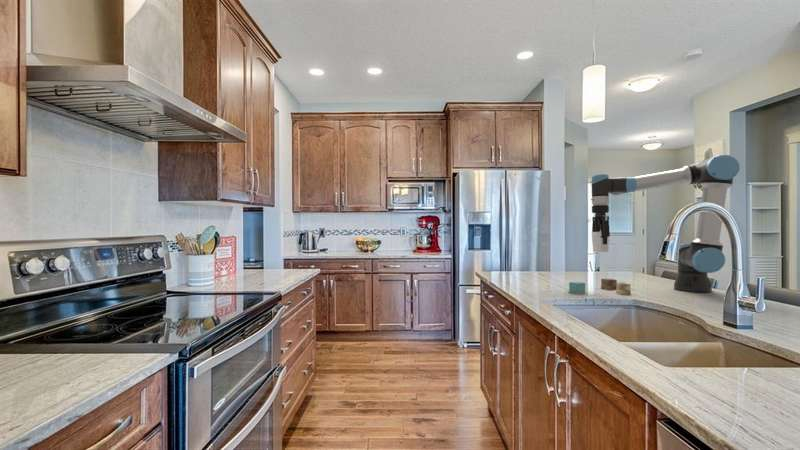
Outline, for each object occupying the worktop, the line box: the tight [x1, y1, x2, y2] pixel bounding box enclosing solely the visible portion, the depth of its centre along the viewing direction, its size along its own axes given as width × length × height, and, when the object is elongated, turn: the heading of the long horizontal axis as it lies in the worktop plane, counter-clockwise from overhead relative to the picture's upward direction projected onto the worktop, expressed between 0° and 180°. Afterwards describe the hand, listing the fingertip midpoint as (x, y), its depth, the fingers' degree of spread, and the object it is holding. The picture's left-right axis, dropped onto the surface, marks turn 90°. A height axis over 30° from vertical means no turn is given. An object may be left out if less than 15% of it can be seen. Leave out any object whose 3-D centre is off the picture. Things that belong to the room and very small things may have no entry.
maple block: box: [616, 281, 632, 295], centre depth 182 cm, size 5×5×5 cm
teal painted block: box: [568, 281, 586, 294], centre depth 185 cm, size 5×5×5 cm
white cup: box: [591, 231, 610, 253], centre depth 190 cm, size 8×8×10 cm
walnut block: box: [600, 278, 618, 291], centre depth 195 cm, size 5×5×5 cm
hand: (600, 250), depth 190 cm, fingers closed on white cup, 7 cm apart
